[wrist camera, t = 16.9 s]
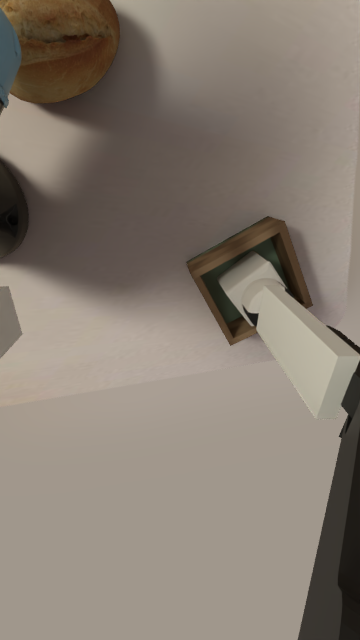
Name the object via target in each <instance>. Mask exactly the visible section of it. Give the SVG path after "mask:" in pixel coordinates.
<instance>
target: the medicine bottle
mask: <svg viewBox="0 0 360 640" xmlns="http://www.w3.org/2000/svg"><path fill="white" fill-rule="evenodd" d="M217 280H218V282H219V284H220V285H221V287H222V289H223V290H224V292H225V293H226V295H227V296H228V298H229V299H230V300H231V301H232V303H233V304H234V305H235V306H236V308H237V309H238V310H239V312H240V313H241V314H242V315H243V317H244V318H245V319H246V321H247V322H248V323H249V324H250V325H251V326H256V327H257V322H258V316H259V310H260V305H261V299H262V293H263V287H264V285H278V286H280V287H281V288H282V289H283V290H284V291H285V292H287V293H288V294H289V295H290V296H291V297H292V298H294V296H293V294H292V293H291V292H290V291H289V290H288V289H287V287H286V286H285V284H284V283H283V281H282V280H281V278H280V277H279V275H278V273H277V272H276V270H275V269H274V267H273V266H272V264H271V263H270V262H269V261H268V260H267V259H265V258H264V257H262V256H261V255H259V254H258V253H257V252H255V251H251V252H249V253H248V254H247V255H245V256H244V257H243V258H242V259H240V260H239V261H238V262H236V263H235V264H234V265H232V266H231V267H230V268H228V269H227V270H226V271H225V272H223V273H222V274H221V275H219V276H218V277H217ZM294 299H295V298H294Z"/></svg>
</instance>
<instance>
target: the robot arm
mask: <svg viewBox="0 0 360 640" xmlns="http://www.w3.org/2000/svg"><path fill="white" fill-rule="evenodd" d="M21 57H22V56H21V47H20V43H19V40H18V37H17V34H16V32H15V30H14V28H13V26H12V24H11V22H10V21H9V19H8V18H7V16H6V15H5V13H4V12H3V10H2V9H1V7H0V115H1V113H2V111H3V109H4V107H5V108H7V106H8V104H9V100H8V95H9V92H10V90H11V87H12V85H13V82H14V80H15V77H16V75H17V72H18V70H19V67H20V64H21ZM27 228H28V208H27V203H26V200H25V197H24V194H23V192H22V189H21V187H20V185H19V184H18V182H17V180H16V179H15V177H14V176H13V174H12V173H11V172H10V171H9V169H8V168H7V167H6V166H5V165H4V164H3V163H2V162H1V161H0V258H1V257H3V256H5V255H7V254H9V253H11V252H12V251H14V250H15V249H16V248H17V247H18V246H19V245H20V244H21V242H22V241H23V239H24V237H25V235H26V232H27ZM256 330H257V332H258V333H259V335H260V336H261V338H262V339H263V341H264V342H265V344H266V345H267V347H268V348H269V350H270V351H271V353H272V354H273V356H274V357H275V359H276V360H277V362H278V363H279V365H280V366H281V368H282V369H283V371H284V372H285V374H286V375H287V376H288V378H289V380H290V381H291V383H292V384H293V386H294V387H295V389H296V390H297V392H298V393H299V395H300V396H301V398H302V399H303V401H304V402H305V404H306V405H307V407H308V408H309V410H310V411H311V413H312V414H313V415H314V417H315V419H336V418H337V415H338V413H339V410H340V408H341V406H342V407H343V408H344V409H345V411H346V412H347V413H348V416H347V419H346V421H345V423H344V426H343V428H342V430H341V433H340V435H339V437H341V438H342V439H341V444H340V448H339V453H338V457H337V462H336V467H335V471H334V476H333V480H332V485H331V490H330V494H329V499H328V503H327V508H326V513H325V518H324V522H323V527H322V531H321V536H320V541H319V545H318V549H317V554H316V559H315V564H314V568H313V573H312V577H311V582H310V586H309V591H308V596H307V601H306V605H305V609H304V614H303V619H302V624H301V628H300V632H299V637H298V640H360V347H358V346H357V345H355V344H354V343H353V342H352V341H351V340H350V339H348V338H347V337H346V336H345V335H343V334H342V333H341V332H340V331H338V330H336V329H334V328H332V327H330V326H325V325H324V324H323V323H322V322H321V321H320V320H318V319H317V318H316V317H315V316H314V315H313V314H311V313H310V312H309V311H308V310H307V309H305V308H304V307H303V306H302V305H301V304H300V303H298V302H297V301H296V300H295V299H294V298H292V297H291V296H290V295H289V294H288V293H287V292H285V291H284V290H283V289H282V288H281V287H280V286H278V285H264V287H263V293H262V299H261V305H260V310H259V316H258V322H257V328H256ZM21 335H22V331H21V328H20V324H19V321H18V317H17V314H16V310H15V307H14V304H13V300H12V297H11V293H10V290H9V287H0V358H1V357H2V356H3V355H4V354H5V353H6V352H7V351H8V350H9V348H10V347H11V346H12V345H13V344H14V343H15V342H16V341H17V340H18V338H19V337H20V336H21Z"/></svg>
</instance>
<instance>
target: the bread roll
mask: <svg viewBox="0 0 360 640" xmlns="http://www.w3.org/2000/svg"><path fill="white" fill-rule="evenodd" d="M0 7H1V9H2V10H3V12H4V13H5V15H6V16H7V18H8V19H9V21H10V22H11V24H12V26H13V28H14V30H15V32H16V34H17V37H18V40H19V43H20V47H21V56H22V57H21V64H20V67H19V70H18V72H17V75H16V77H15V80H14V82H13V85H12V87H11V90H10V92H9V93H11V94H12V95H14V96H15V97H17V98H19V99H20V100H23V101H27V102H30V103H53V102H59V101H63V100H66V99H69V98H72V97H74V96H77V95H80V94H82V93H84V92H86V91H88V90H90V89H91V88H92V87H94V86H95V85H96V84H97V83H98V82H99V81H100V79H101V78H102V77H103V76H104V75H105V73H106V72H107V70H108V69H109V67H110V66H111V64H112V62H113V59H114V56H115V54H116V51H117V48H118V44H119V38H120V28H119V21H118V17H117V14H116V11H115V9H114V7H113V5H112V3H111V2H110V0H0Z"/></svg>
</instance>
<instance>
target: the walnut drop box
mask: <svg viewBox="0 0 360 640" xmlns="http://www.w3.org/2000/svg"><path fill="white" fill-rule="evenodd" d="M251 251H255V252H257V253H258V254H259V255H261V256H262V257H264V258H265V259H267V260H268V261H269V262H270V263H271V264H272V266H273V267H274V269H275V270H276V272H277V273H278V275H279V277H280V278H281V280H282V281H283V283H284V284H285V286H286V287H287V289H288V290H289V291H290V292H291V293H292V294H293V296H294V298H295V300H296V301H297V302H298V303H300V304H301V305H302V306H303V307H304V308H305V309H307V308H309V307H311V306H313V304H312V301H311V298H310V295H309V292H308V289H307V286H306V283H305V280H304V277H303V274H302V271H301V268H300V266H299V263H298V260H297V257H296V254H295V251H294V248H293V245H292V242H291V239H290V236H289V233H288V230H287V227H286V224H285V221H282V220H279V219H275V218H272V217H269V216H267V217H266V218H264V219H262V220H260V221H259V222H257V223H255V224H253V225H251V226H250V227H248V228H246V229H244V230H243V231H241V232H239V233H237V234H235V235H234V236H232V237H230V238H228V239H227V240H225V241H223V242H221V243H219V244H218V245H216V246H214V247H212V248H211V249H209V250H207V251H205V252H204V253H202V254H200V255H198V256H196V257H195V258H193V259H191V260H189V261H188V262H187V265H188V268H189V271H190V274H191V275H192V277H193V279H194V281H195V283H196V284H197V286H198V288H199V290H200V292H201V293H202V295H203V297H204V299H205V301H206V303H207V304H208V306H209V308H210V310H211V312H212V313H213V315H214V317H215V319H216V321H217V322H218V324H219V326H220V328H221V330H222V331H223V333H224V335H225V337H226V339H227V340H228V342H229V344H230V346H231V345H233V344H235V343H237V342H239V341H241V340H243V339H245V338H247V337H249V336H252V335H254V334H256V333H258V332H257V330H256V328H257V327H256V326H251V325H250V324H249V323H248V322H247V321H246V319H245V318H244V317H243V315H242V314H241V313H240V312H239V310H238V309H237V308H236V306H235V305H234V304H233V303H232V301H231V300H230V299H229V298H228V296H227V295H226V293H225V292H224V290H223V289H222V287H221V285H220V284H219V282H218V280H217V277H218V276H219V275H221V274H222V273H223V272H225V271H226V270H227V269H228V268H230V267H231V266H232V265H234V264H235V263H236V262H238V261H239V260H240V259H242V258H243V257H244V256H245V255H247V254H248V253H249V252H251Z"/></svg>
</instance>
